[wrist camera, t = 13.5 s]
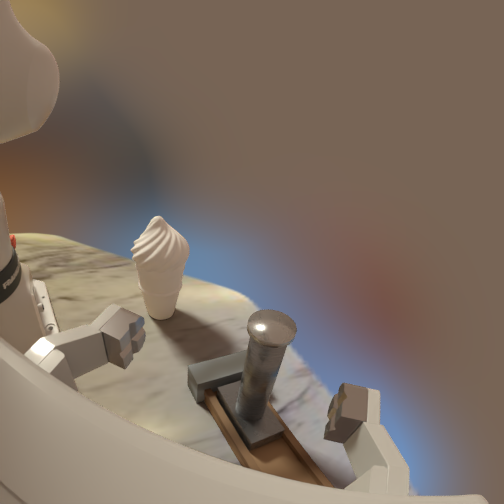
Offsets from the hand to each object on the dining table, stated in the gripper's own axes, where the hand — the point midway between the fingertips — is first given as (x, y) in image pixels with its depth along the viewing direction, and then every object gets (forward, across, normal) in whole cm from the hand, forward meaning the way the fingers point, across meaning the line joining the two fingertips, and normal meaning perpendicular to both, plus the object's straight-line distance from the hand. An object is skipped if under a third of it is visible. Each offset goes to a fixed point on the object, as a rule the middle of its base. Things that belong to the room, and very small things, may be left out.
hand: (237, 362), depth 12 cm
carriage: (+11, -1, +23) cm, 25 cm away
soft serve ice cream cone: (+25, +18, +26) cm, 40 cm away
